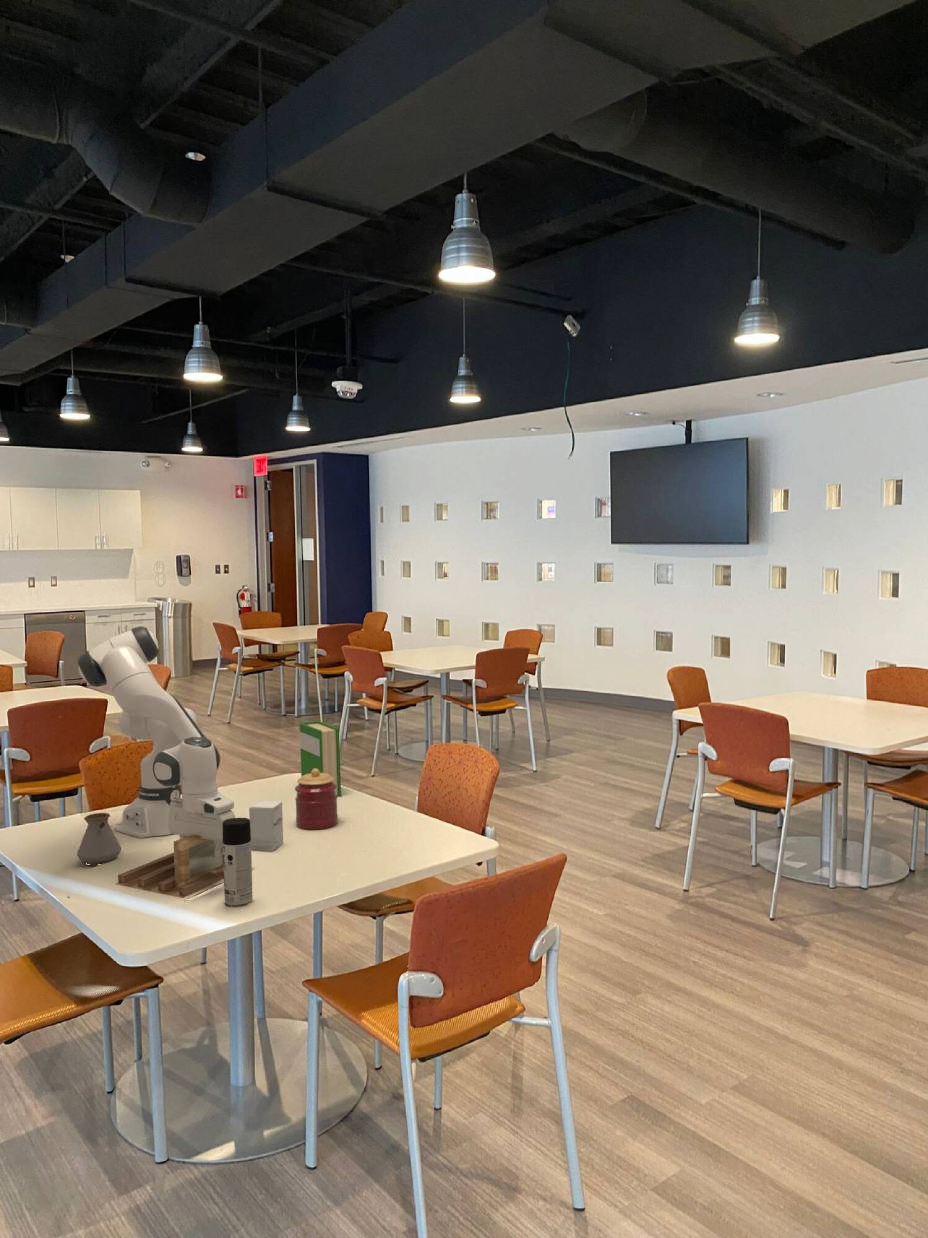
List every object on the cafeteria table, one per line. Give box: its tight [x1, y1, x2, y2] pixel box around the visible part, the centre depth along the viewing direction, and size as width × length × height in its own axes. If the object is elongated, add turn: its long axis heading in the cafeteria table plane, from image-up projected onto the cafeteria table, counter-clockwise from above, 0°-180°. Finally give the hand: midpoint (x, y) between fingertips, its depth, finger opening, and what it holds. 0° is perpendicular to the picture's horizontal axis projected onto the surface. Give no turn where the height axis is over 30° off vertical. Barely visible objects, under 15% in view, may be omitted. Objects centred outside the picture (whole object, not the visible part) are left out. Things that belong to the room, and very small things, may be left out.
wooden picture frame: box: [173, 834, 224, 889], centre depth 235 cm, size 3×16×12 cm, turn 153°
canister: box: [294, 768, 339, 831], centre depth 284 cm, size 13×13×18 cm
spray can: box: [223, 817, 253, 907], centre depth 221 cm, size 7×7×20 cm
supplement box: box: [248, 800, 284, 852], centre depth 263 cm, size 7×7×13 cm
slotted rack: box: [115, 852, 224, 902], centre depth 238 cm, size 23×24×4 cm
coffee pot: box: [76, 812, 122, 865], centre depth 249 cm, size 21×12×15 cm, turn 27°
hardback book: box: [299, 720, 342, 798], centre depth 322 cm, size 18×7×24 cm, turn 32°
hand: (202, 854), depth 235 cm, fingers open, 8 cm apart
